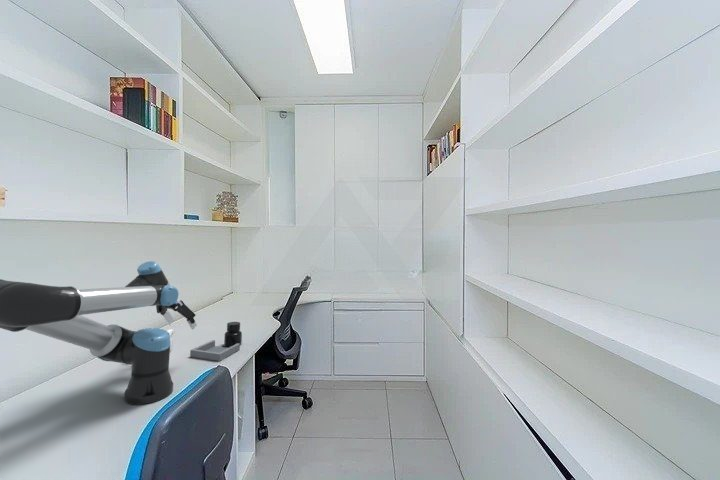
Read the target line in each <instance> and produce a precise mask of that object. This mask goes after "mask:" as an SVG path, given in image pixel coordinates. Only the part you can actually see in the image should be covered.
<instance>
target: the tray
mask: <svg viewBox="0 0 720 480" xmlns="http://www.w3.org/2000/svg"><path fill="white" fill-rule="evenodd" d="M240 347H241V345H240V344H238V343H237V344H235V345H233V346H231V347H225V346H223V347H222V346H216V340H213V339H212V340H209V341H207V342H206V343H203V344H201V345H199V346H196V347H195V348H192V349H190V350H189V351H190V353H189V355H190V356H189V357H190V358H193V359H200V360H207V361H213V362H219V363H220V362H221V361H224V360H225V359H226V358H229V357H230V356H232V355H235V354H236V353H238V352H239V351H240Z"/></svg>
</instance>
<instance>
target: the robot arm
mask: <svg viewBox="0 0 720 480" xmlns="http://www.w3.org/2000/svg"><path fill="white" fill-rule="evenodd" d="M137 274H138V275H137V276H136V277H134V279H132V281H130V282H129V283H128V284H126V285H125V286H123V287H122V286H120V287H105V288H104V287H102V288H83V289H78V288H77V287H74V286H56V285H55V286H54V285H46V284H40V283H39V284H38V283H33V282H25V281H24V282H22V281H13V280H5V279H1V278H0V329H2V330H5V331H9V332H13V333H17V332H22V331H25V330H27V331H31V332H34V333H36V334H40V335H44V336H46V337H49V338H53V339H56V340H60V341H62V342H66V343H68V344H72V345H74V346H78V347H80V348H84V349H87V350H89V352H90V354H91V355H92V356H94V357H96V358H98V359H100V360H102V361H104V362H112V363H118V364H119V363H120V364H126V365H131V371H130V372H131V373H130V375H131V377H130V379H129V382H128V385H127V387H126V389H125V391H124V395H123V397H124V398H123V400H124V402H125V403H127V404H130V405H145V404H151V403H155V402H158V401H160V400H161V401H162V399H165V398H167V397H168V396H170V395H171V394H172V393H173V392H174V382H173V380H172V376H171V374H170V369H169V368H170V355H171V351H170V335H169V333H168V332H167V330H166V329H163V328H157V327H156V328H155V327H154V328H151V327H150V328H149V327H146V328H141V329H138V330H137V331H135V330H131V329H128V328H126V327H122V326H120V325H118V324H115V323H114V324H113V323H112V324H109V325H106V324H103V323H101V322H98V321H96V320H93V319H90V318H88V317H85V316H83V315H91V314H99V313H106V312H112V311H113V312H115V311H122V310H128V309H136V308H137V309H138V308H145V307H153V306H155V307H156V309H155V310H156V313H157V314H160V315H161V316H163V318H164V320H165V321H166V322H167V324H168V326H171V325H172V324H173V323H174V322H175V319H174V317H173V316H172V314H171V313H170V311H168V309H170V310H172V311H173V312H177V313H179V314H180V315H181V316H182V317H184V318H185V319H186V322H187V324H188V326H189V327H190V329H191V330H194V329H195V328H196V327H197V326H198V324H197V322H196V320H195V317H196V316H197V315H196V314H195V312H193V310H191V308H189V306H187V305H186V304H185V303H184V301H183V300H179V301H178V299H179V295H180V293H179V290H178V288H177V287H175V286H172V285H171V284H170V282H169V280H168V279H167V276H166V275H165V273H164V271H163V269H162V268H161V266H160V265H159V264H158V262H156V261H153V260H151V261H145V262H143V263H142V264H140V265H138V267H137Z"/></svg>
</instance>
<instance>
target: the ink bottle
mask: <svg viewBox="0 0 720 480" xmlns="http://www.w3.org/2000/svg"><path fill="white" fill-rule="evenodd" d="M242 334H243V333H242V331H241V322H240V321H230V322H227V323H226V332H225V333H224V339H223V344H224V346H223V347H225V348H229V347H231V346H233V345H235V344H237V343H238V344H240V346H241V345H242V343H243V342H242V341H243V335H242Z"/></svg>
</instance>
